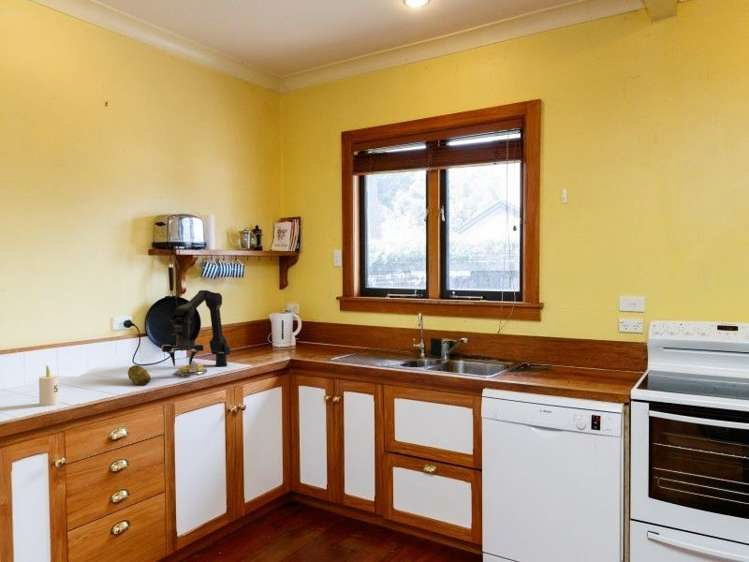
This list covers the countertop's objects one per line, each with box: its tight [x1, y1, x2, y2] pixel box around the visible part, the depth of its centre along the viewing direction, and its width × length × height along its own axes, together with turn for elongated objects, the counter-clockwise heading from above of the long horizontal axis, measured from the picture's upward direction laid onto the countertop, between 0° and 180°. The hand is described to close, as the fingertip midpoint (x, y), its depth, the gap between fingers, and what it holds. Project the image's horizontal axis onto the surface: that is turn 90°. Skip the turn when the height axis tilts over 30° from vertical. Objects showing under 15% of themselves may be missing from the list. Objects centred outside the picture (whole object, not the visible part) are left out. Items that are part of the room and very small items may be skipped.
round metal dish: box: [174, 367, 208, 377], centre depth 282 cm, size 15×15×3 cm
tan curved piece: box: [178, 360, 204, 372], centre depth 280 cm, size 18×11×5 cm, turn 26°
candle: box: [38, 365, 59, 407], centre depth 219 cm, size 6×6×15 cm
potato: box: [127, 364, 152, 386], centre depth 257 cm, size 8×13×8 cm, turn 34°
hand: (182, 365), depth 273 cm, fingers open, 7 cm apart
